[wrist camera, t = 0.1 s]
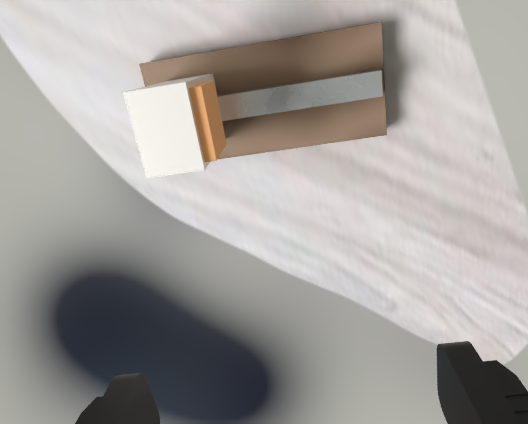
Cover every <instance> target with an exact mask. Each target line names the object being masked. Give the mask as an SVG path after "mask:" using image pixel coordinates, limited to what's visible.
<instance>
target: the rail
mask: <svg viewBox="0 0 528 424" xmlns="http://www.w3.org/2000/svg"><path fill="white" fill-rule="evenodd" d="M140 68H141V72H142V76H143V80H144V84H145V87H142V88H138V89H134V90H130V91H127V92H123V94H124V98H125V102H126V105H127V109H128V113H129V116H130V120H131V123H132V127H133V131H134V134H135V138H136V142H137V145H138V149H139V153H140V156H141V160H142V163H143V167H144V171H145V174H146V178H152V177H159V176H166V175H174V174H181V173H188V172H195V171H202V170H205V169H206V167H207V166H208V164H209V163H210V161H217V159H223V158H230V157H237V156H244V155H251V154H258V153H265V152H272V151H279V150H285V149H292V148H299V147H306V146H313V145H320V144H327V143H334V142H341V141H348V140H355V139H362V138H369V137H376V136H383V135H387V127H386V105H385V84H384V62H383V41H382V22H378V23H373V24H367V25H361V26H355V27H349V28H344V29H338V30H332V31H326V32H321V33H315V34H309V35H303V36H297V37H292V38H286V39H280V40H274V41H269V42H263V43H257V44H251V45H245V46H240V47H234V48H228V49H222V50H216V51H211V52H205V53H199V54H193V55H188V56H182V57H176V58H170V59H164V60H159V61H153V62H147V63H141V64H140Z"/></svg>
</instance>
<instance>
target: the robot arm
mask: <svg viewBox="0 0 528 424" xmlns="http://www.w3.org/2000/svg"><path fill="white" fill-rule="evenodd" d="M437 383H438V384H437V385H438V396H439V400H440V404H441V408H442V411H443V413H444V416H445V418H446V421H447V423H448V424H528V391H527V390H526V388H525V387H524V386H523V384H522V383H521V381H520V380H519V378H518V377H517V376H516V375H515V374H514V373H513V372H511V371H510V370H509V369H507V368H506V367H505V366H503V365H502V364H501V363H499V362H498V361H497V360H495V361H484V362H483V361H482V360H481V358H480V357H479V355H478V353H477V352H476V350H475V349H474V347H473V346H472V344H471V343H470V342H468V341H465V342H455V343H445V344H438V346H437ZM75 424H160V417H159V412H158V408H157V406H156V403H155V400H154V397H153V395H152V392H151V389H150V386H149V384H148V381H147V378H146V376H145V375H144V374H143V373H136V374H126V375H117V376H115V377H114V378H113V379H112V381H111V382H110V384H109V386H108V388H107V390H106V392H105V394H104V396H103V397H96V398H95V400H93V401H92V402H91V404H90V405H89V406H88V407H87V408H86V409H85V410H84V411H83V412H82V413H81V415H80V416H79V418H78V420H77V421H76V423H75Z"/></svg>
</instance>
